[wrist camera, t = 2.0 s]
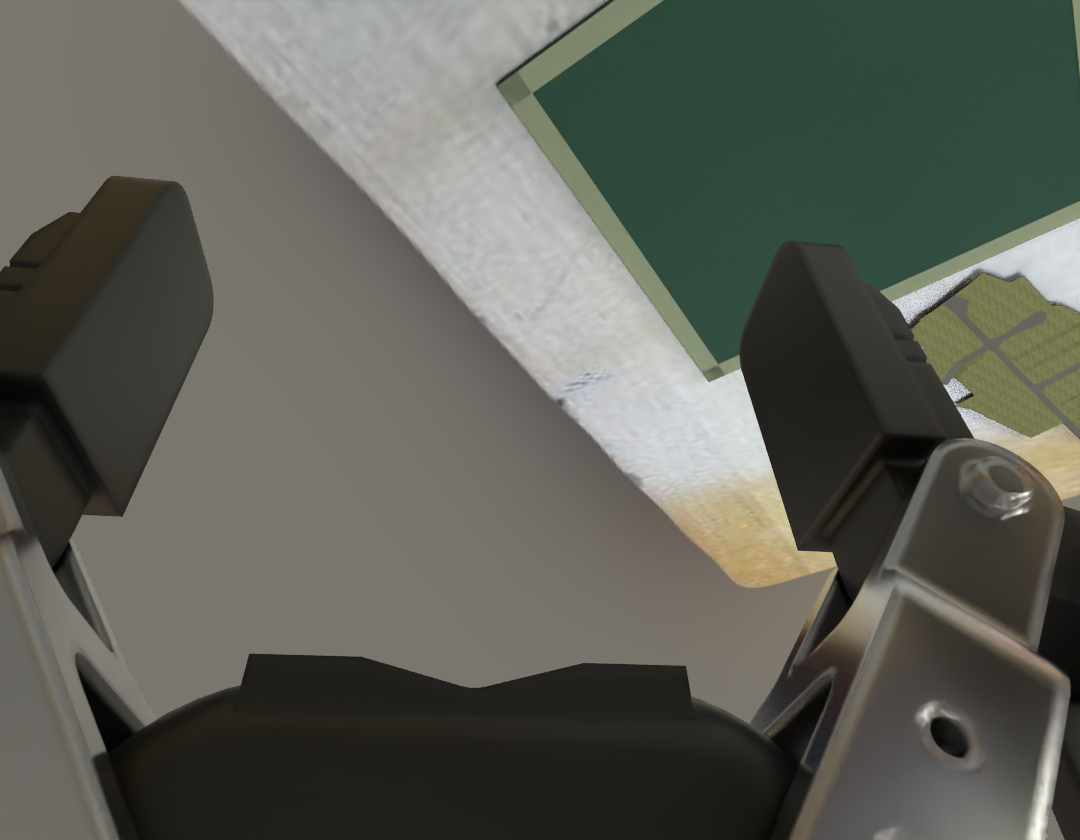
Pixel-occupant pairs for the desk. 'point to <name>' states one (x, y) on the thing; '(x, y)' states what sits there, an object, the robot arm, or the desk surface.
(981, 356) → the map
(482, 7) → the desk surface
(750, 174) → the chalkboard
